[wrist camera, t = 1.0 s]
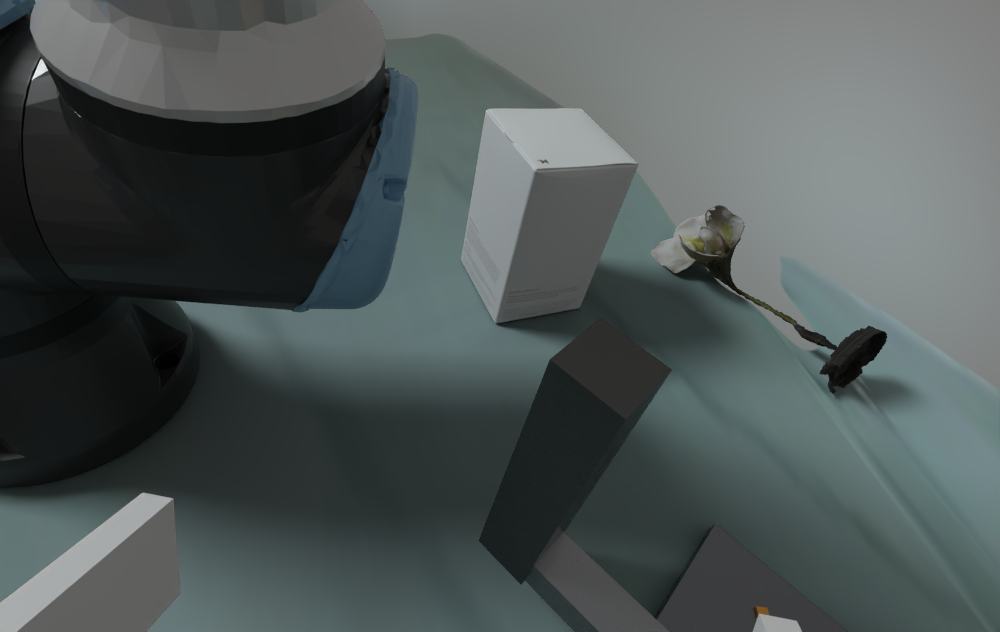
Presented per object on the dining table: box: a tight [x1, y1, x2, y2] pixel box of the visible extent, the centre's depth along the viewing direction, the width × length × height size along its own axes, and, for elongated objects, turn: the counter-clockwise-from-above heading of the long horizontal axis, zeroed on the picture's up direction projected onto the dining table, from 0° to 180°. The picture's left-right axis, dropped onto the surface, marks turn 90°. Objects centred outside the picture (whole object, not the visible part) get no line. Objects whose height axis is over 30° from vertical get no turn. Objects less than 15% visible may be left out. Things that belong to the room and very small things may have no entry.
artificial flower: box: [651, 205, 887, 393], centre depth 50 cm, size 9×22×10 cm, turn 30°
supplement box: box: [461, 108, 638, 323], centre depth 44 cm, size 9×9×15 cm
